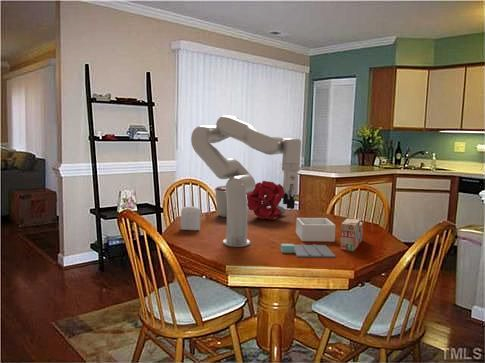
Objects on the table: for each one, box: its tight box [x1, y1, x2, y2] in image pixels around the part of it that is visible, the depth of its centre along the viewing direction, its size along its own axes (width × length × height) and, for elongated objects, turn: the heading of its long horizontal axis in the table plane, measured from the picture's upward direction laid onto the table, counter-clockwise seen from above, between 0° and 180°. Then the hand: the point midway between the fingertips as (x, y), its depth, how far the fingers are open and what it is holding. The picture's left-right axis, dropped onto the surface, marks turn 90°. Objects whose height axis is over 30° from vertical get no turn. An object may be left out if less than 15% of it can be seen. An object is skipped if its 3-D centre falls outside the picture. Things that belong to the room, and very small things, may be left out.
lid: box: [280, 243, 337, 258], centre depth 180 cm, size 22×16×3 cm
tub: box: [295, 217, 337, 242], centre depth 205 cm, size 16×16×8 cm
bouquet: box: [246, 180, 287, 220], centre depth 247 cm, size 22×24×30 cm
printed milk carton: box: [339, 218, 364, 252], centre depth 192 cm, size 21×6×12 cm, turn 154°
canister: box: [214, 185, 227, 218], centre depth 250 cm, size 18×18×21 cm
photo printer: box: [180, 205, 201, 232], centre depth 214 cm, size 10×4×12 cm, turn 84°
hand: (288, 206), depth 177 cm, fingers open, 9 cm apart
